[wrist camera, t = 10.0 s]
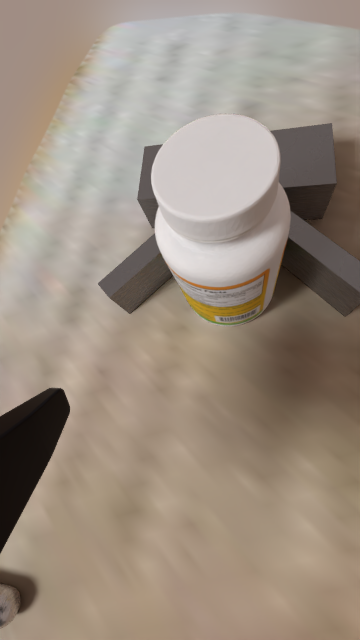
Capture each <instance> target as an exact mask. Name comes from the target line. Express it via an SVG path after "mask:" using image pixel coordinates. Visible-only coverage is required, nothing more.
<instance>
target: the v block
mask: <svg viewBox="0 0 360 640" xmlns="http://www.w3.org/2000/svg"><path fill="white" fill-rule="evenodd" d="M270 132H271V133H272V134H273V135H274V137H275V139H276V141H277V143H278V146H279V150H280V159H281V163H280V172H279V183H280V184H281V186H282V187H283V189H284V191H285V193H286V195H287V198H288V201H289V205H290V214H291V220H290V228H289V234H288V239H287V243H286V247H285V251H284V254H283V258H282V262H281V264H282V265H283V266H284V267H285V268H287V269H288V270H289V271H290V272H291V273H293V274H294V275H295V276H296V277H297V278H299V279H300V280H301V281H302V282H304V283H305V284H306V285H307V286H308V287H310V288H311V289H312V290H313V291H314V292H316V293H317V294H318V295H319V296H321V297H322V298H323V299H324V300H325V301H327V302H328V303H329V304H330V305H331V306H333V307H334V308H335V309H336V310H337V311H339V312H340V313H341V314H342V315H344V316H347V315H348V314H349V313H350V312H351V311H352V310H353V309H355V308H356V307H357V306H358V305H359V304H360V261H359V260H357V259H356V258H355V257H353V256H352V255H351V254H349V253H348V252H346V251H345V250H344V249H342V248H341V247H340V246H338V245H337V244H336V243H334V242H333V241H331V240H330V239H329V238H327V237H326V236H325V235H323V234H322V233H320V232H319V231H318V230H316V229H315V228H314V227H312V226H311V225H309V224H308V223H307V222H305V221H304V220H303V219H321V218H322V217H323V215H324V213H325V210H326V208H327V205H328V203H329V201H330V198H331V196H332V193H333V191H334V189H335V186H336V184H337V180H336V168H335V156H334V143H333V131H332V123H330V124H322V125H314V126H306V127H298V128H290V129H282V130H274V131H270ZM162 145H163V144H162ZM162 145H154V146H146V147H145V148H144V155H143V163H142V170H141V177H140V184H139V191H138V199H137V200H138V202H139V204H140V206H141V207H142V209H143V211H144V213H145V215H146V217H147V219H148V221H149V223H150V225H151V227H152V228H155V219H156V214H157V210H158V207H159V205H158V202H157V200H156V197H155V195H154V192H153V188H152V184H151V172H152V166H153V163H154V160H155V157H156V155H157V153H158V151H159V150H160V148H161V147H162ZM172 276H173V274H172V272H171V271H170V269H169V267H168V265H167V264H166V262H165V260H164V258H163V256H162V254H161V252H160V250H159V247H158V245H157V241H156V236H155V234H154V235H152V236H151V237H150V238H149V239H148V240H147V241H146V242H144V243H143V244H142V245H141V246H140V247H139V248H138V249H137V250H135V251H134V252H133V253H132V254H131V255H130V256H129V257H127V258H126V259H125V260H124V261H123V262H122V263H121V264H120V265H118V266H117V267H116V268H115V269H114V270H113V271H112V272H110V273H109V274H108V275H107V276H106V277H105V278H104V279H102V280H101V281H100V282H99V283H98V285H99V286H100V287H101V288H102V290H103V291H104V292H105V293H106V294H107V296H108V297H109V298H110V299H111V300H113V301H114V302H115V303H117V304H118V305H119V306H120V307H122V308H123V309H124V310H125V311H127V312H128V313H129V314H130V313H131V312H132V311H133V310H135V309H136V308H137V307H138V306H139V305H140V304H141V303H142V302H144V301H145V300H146V299H147V298H148V297H149V296H150V295H151V294H153V293H154V292H155V291H156V290H157V289H158V288H159V287H160V286H162V285H163V284H164V283H165V282H166V281H167V280H168V279H169V278H171V277H172Z"/></svg>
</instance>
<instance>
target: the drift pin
mask: <svg viewBox="0 0 360 640" xmlns="http://www.w3.org/2000/svg"><path fill="white" fill-rule="evenodd" d="M20 601H21V598H20V593H19V591H18V590H17V589H16V588H15V587H13V586H9V585H5V584H2V583H0V629H1V628H3V627H5V626H7V625H8V624H9V623H10V622H11V621H12V620H13V619H14V618H15V616H16V614H17V612H18V610H19V607H20Z"/></svg>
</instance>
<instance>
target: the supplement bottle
mask: <svg viewBox="0 0 360 640" xmlns="http://www.w3.org/2000/svg"><path fill="white" fill-rule="evenodd" d="M280 163H281V159H280V150H279V146H278V143H277V141H276V139H275V137H274V135H273V134H272V133H271V132H270V131H269V129H268V128H267V127H265V126H264V125H263V124H261V123H260V122H258V121H256V120H254V119H252V118H250V117H247V116H243V115H238V114H216V115H211V116H206V117H203V118H199V119H197V120H195V121H192V122H191V123H189V124H187V125H185V126H183V127H182V128H180V129H179V130H177V131H176V132H175V133H174V134H172V135H171V136H170V137H169V138H168V139H167V140H166V141H165V143H164V144H163V145H162V147H161V148H160V150H159V151H158V153H157V155H156V157H155V160H154V163H153V166H152V172H151V184H152V188H153V192H154V195H155V197H156V200H157V202H158V205H159V207H158V210H157V214H156V219H155V236H156V241H157V245H158V247H159V250H160V252H161V254H162V256H163V258H164V260H165V262H166V264H167V265H168V267H169V269H170V271H171V272H172V274H173V276H174V278H175V279H176V281H177V283H178V285H179V286H180V288H181V290H182V292H183V294H184V295H185V297H186V299H187V301H188V303H189V304H190V306H191V307H192V309H193V310H194V311H195V312H196V313H197V314H198V315H199V316H200V317H201V318H203V319H204V320H206V321H208V322H210V323H212V324H215V325H220V326H237V325H241V324H245V323H247V322H249V321H251V320H253V319H255V318H256V317H258V316H259V315H260V314H261V313H262V312H263V311H264V310H265V309H266V307H267V306H268V304H269V303H270V301H271V299H272V296H273V293H274V290H275V286H276V282H277V278H278V274H279V270H280V266H281V262H282V258H283V254H284V251H285V247H286V243H287V239H288V234H289V228H290V220H291V214H290V205H289V201H288V198H287V195H286V193H285V191H284V189H283V187H282V186H281V184H280V183H279V172H280Z"/></svg>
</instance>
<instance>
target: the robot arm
mask: <svg viewBox="0 0 360 640" xmlns="http://www.w3.org/2000/svg"><path fill="white" fill-rule="evenodd" d="M69 413H70V406H69V403H68V400H67V397H66V395H65V392H64V390H63V389H61V388H49V389H47V390H45V391H44V392H42V393H40V394H38V395H37V396H35V397H33V398H31V399H30V400H28V401H26V402H24V403H23V404H21V405H19V406H17V407H16V408H14V409H12V410H10V411H9V412H7V413H5V414H4V415H2V416H0V553H1V551H2V549H3V548H4V546H5V544H6V542H7V540H8V538H9V536H10V534H11V532H12V531H13V529H14V527H15V525H16V523H17V521H18V519H19V517H20V515H21V514H22V512H23V510H24V508H25V506H26V504H27V502H28V500H29V498H30V497H31V495H32V493H33V491H34V489H35V487H36V485H37V483H38V481H39V480H40V478H41V476H42V474H43V472H44V470H45V468H46V466H47V464H48V462H49V460H50V458H51V456H52V454H53V452H54V450H55V447H56V445H57V442H58V440H59V438H60V435H61V433H62V430H63V428H64V425H65V423H66V421H67V418H68V416H69Z"/></svg>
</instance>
